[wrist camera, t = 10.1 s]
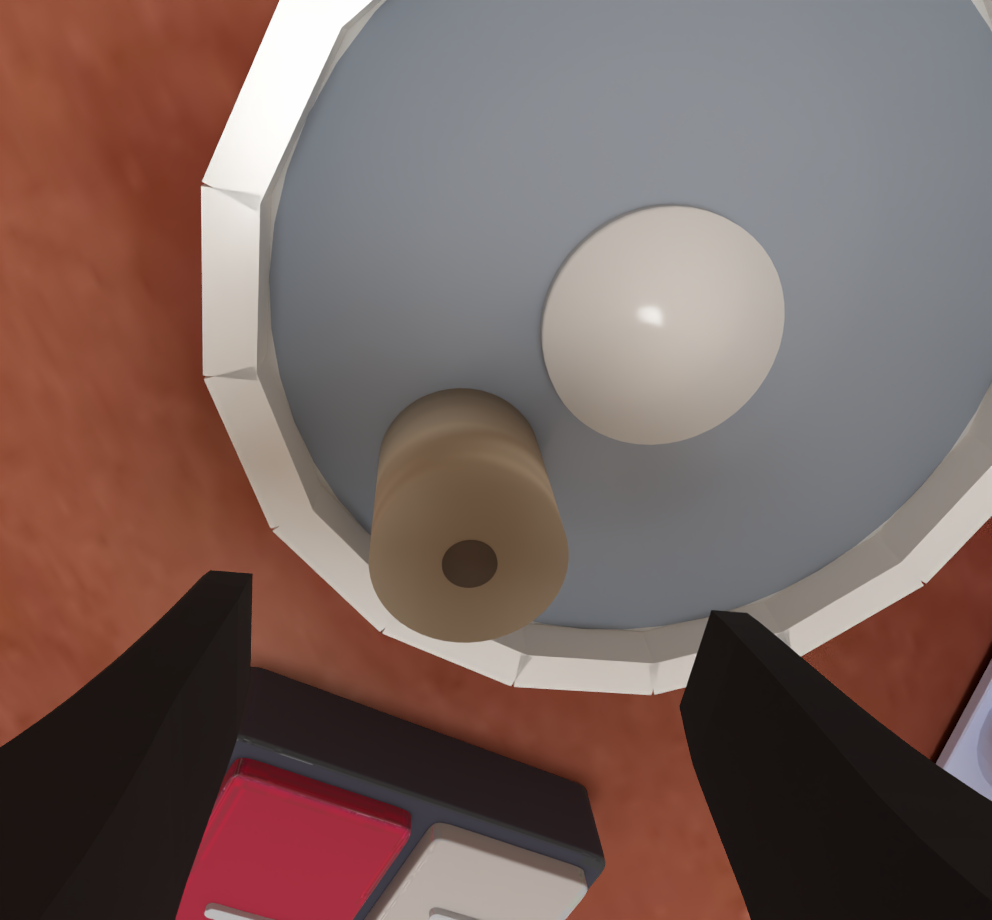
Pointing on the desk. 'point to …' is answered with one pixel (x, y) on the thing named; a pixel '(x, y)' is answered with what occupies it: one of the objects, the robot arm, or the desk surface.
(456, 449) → the wooden bead
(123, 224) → the desk surface
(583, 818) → the calculator
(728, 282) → the ring tray
